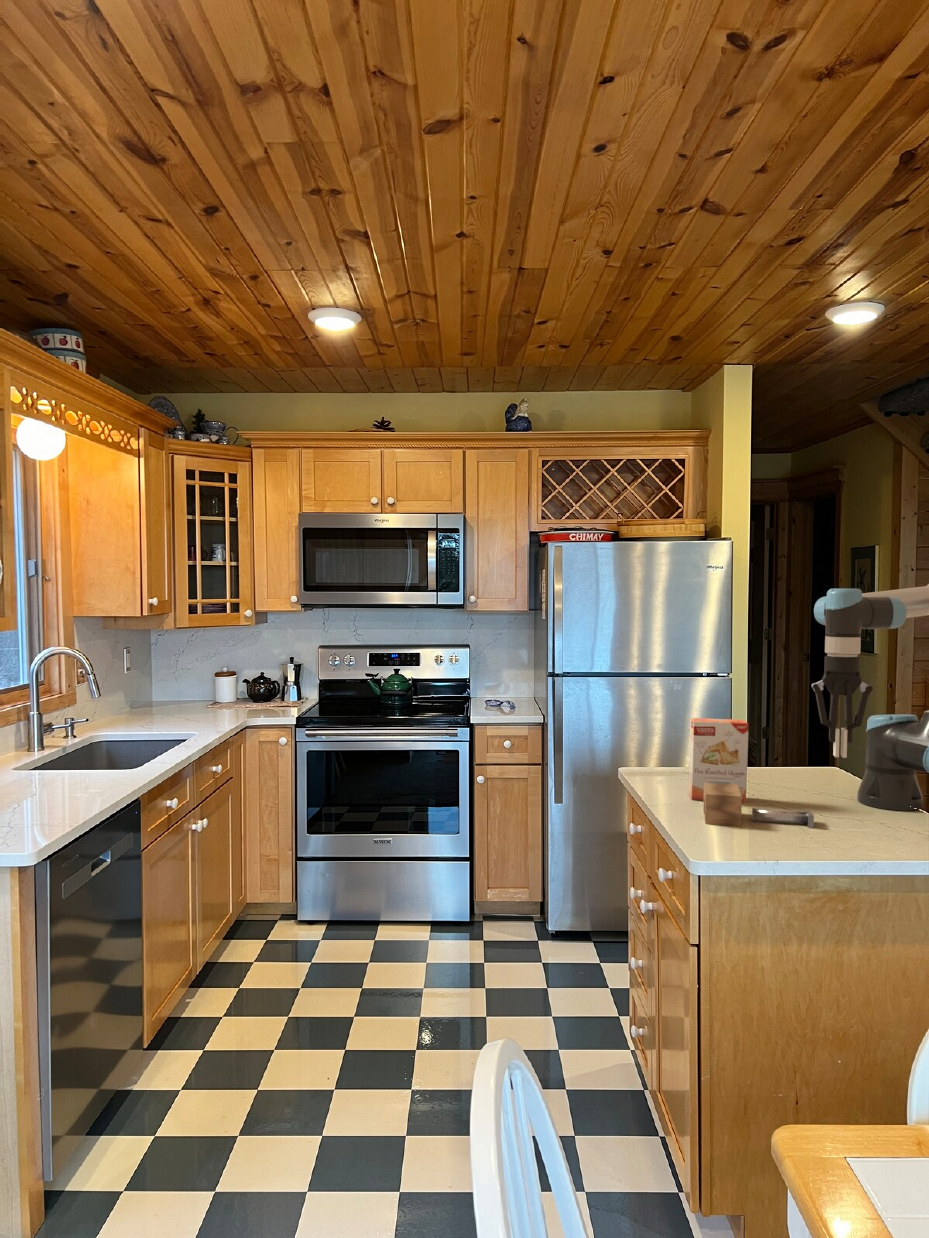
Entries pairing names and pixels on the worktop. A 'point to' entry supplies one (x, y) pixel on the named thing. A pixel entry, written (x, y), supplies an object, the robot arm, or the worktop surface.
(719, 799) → the block
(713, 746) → the cracker box
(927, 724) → the robot arm
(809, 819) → the pin
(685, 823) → the worktop surface
